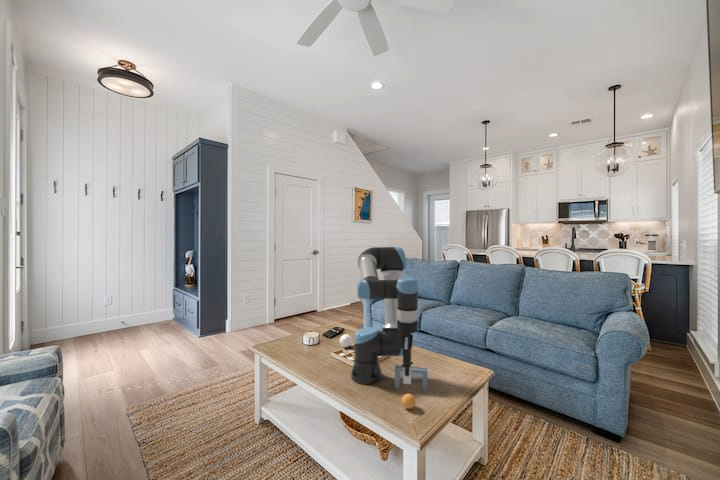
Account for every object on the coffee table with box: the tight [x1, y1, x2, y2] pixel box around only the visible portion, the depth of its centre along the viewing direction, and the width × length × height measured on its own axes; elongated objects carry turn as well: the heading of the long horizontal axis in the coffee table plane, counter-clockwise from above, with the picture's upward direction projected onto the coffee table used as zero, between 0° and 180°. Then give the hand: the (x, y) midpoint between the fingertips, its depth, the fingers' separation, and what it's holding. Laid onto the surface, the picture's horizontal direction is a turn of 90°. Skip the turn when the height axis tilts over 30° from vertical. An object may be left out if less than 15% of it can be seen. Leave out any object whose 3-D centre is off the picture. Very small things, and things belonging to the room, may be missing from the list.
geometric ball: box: [339, 333, 353, 348], centre depth 190 cm, size 8×8×8 cm
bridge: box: [394, 364, 429, 392], centre depth 141 cm, size 3×14×9 cm, turn 77°
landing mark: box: [400, 371, 423, 382], centre depth 155 cm, size 13×13×1 cm
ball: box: [401, 393, 416, 410], centre depth 125 cm, size 6×6×6 cm
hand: (407, 382), depth 115 cm, fingers closed
